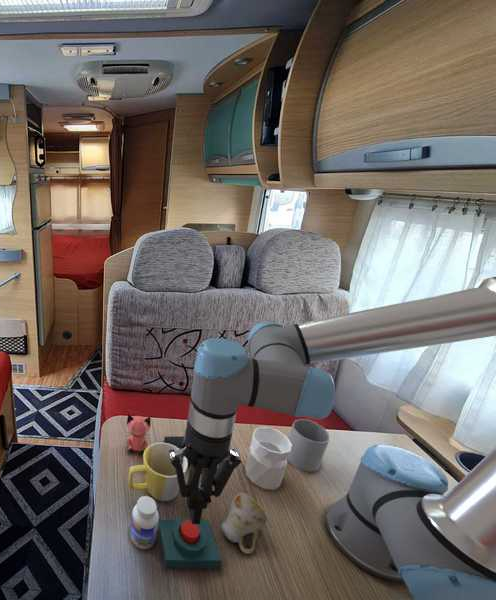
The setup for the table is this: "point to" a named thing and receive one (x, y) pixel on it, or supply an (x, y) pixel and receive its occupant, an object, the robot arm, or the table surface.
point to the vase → (267, 457)
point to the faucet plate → (175, 442)
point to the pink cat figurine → (137, 433)
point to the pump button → (189, 532)
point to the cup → (307, 445)
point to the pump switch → (187, 545)
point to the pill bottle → (144, 522)
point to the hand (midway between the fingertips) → (194, 517)
